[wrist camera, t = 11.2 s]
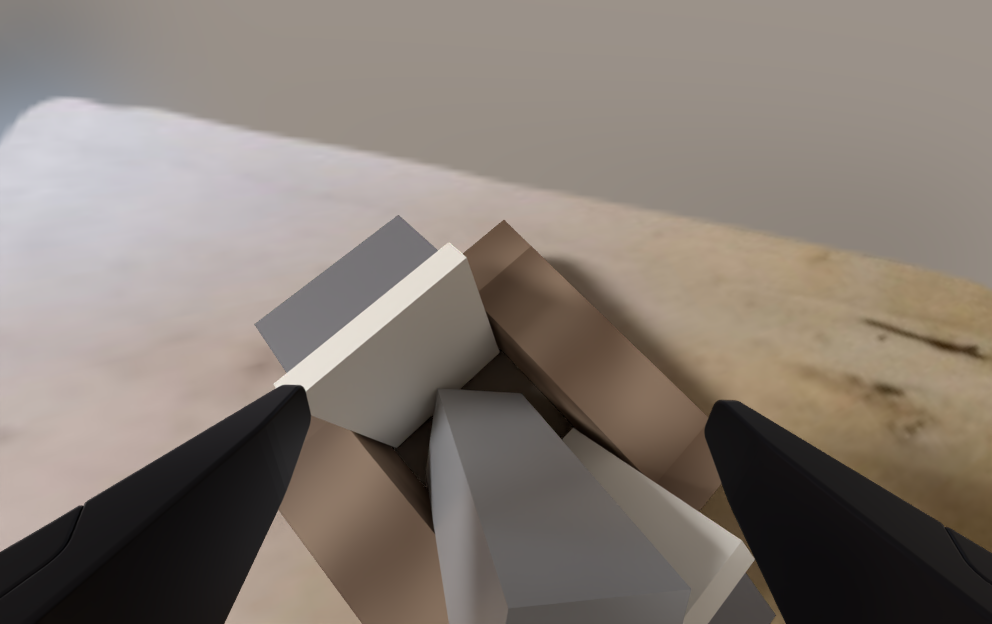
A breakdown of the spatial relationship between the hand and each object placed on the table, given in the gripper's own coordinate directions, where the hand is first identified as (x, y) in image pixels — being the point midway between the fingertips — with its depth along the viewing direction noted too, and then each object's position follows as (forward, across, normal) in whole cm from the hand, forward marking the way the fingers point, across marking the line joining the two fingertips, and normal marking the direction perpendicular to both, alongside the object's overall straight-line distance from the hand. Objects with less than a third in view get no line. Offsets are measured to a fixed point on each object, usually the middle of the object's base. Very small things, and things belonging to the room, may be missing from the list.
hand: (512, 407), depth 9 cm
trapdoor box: (+9, 0, +11) cm, 14 cm away
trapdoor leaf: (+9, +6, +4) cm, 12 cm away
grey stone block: (+8, +1, +9) cm, 12 cm away
